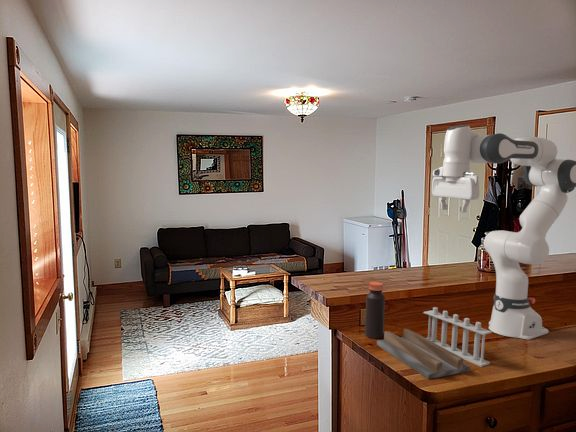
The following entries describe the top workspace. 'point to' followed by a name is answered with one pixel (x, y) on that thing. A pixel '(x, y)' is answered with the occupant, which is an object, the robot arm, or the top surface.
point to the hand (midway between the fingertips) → (453, 210)
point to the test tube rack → (453, 347)
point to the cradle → (422, 354)
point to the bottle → (375, 311)
